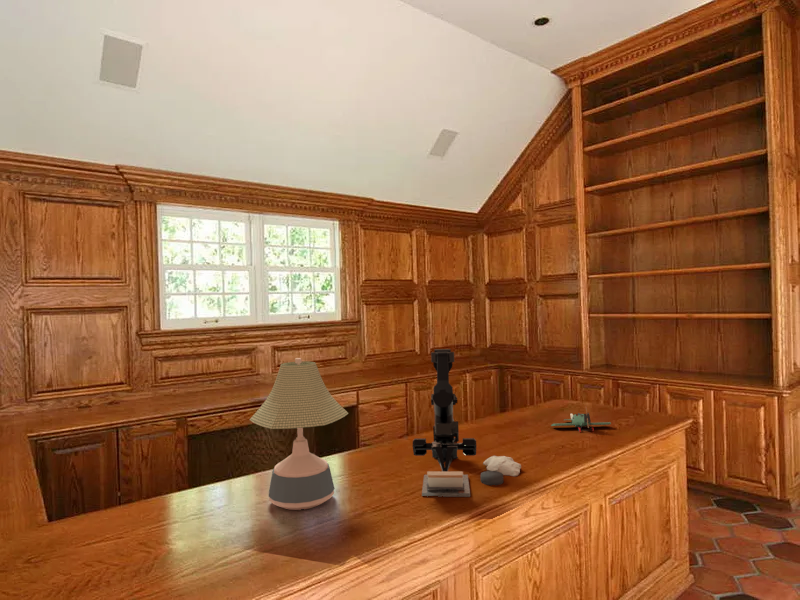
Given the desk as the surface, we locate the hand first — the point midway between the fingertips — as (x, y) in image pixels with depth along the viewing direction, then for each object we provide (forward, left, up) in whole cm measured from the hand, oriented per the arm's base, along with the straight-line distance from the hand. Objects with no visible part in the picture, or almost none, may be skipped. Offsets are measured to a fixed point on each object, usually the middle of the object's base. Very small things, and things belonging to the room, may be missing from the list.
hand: (445, 473), depth 143 cm
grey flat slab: (-8, +8, -8) cm, 13 cm away
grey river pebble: (-1, +21, -8) cm, 23 cm away
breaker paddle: (-4, +4, -6) cm, 8 cm away
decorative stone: (-6, +33, -8) cm, 34 cm away
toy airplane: (-20, +101, -8) cm, 103 cm away
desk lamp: (-28, -31, -8) cm, 42 cm away
